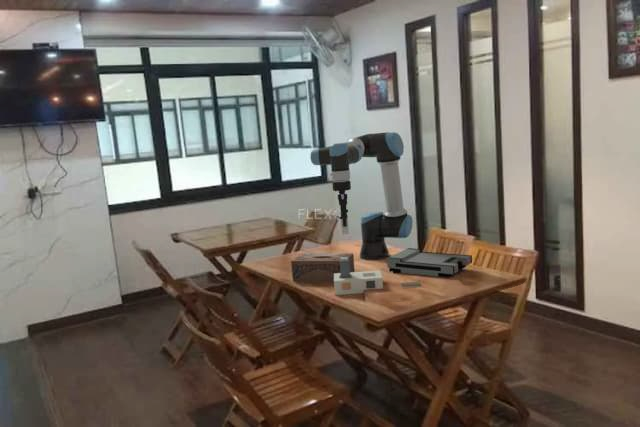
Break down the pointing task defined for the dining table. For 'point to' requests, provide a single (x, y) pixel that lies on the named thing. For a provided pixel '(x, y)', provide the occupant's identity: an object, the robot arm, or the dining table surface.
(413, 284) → the plate
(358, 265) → the dining table surface
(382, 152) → the robot arm
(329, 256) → the tissue box cover
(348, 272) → the plug
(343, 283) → the socket block
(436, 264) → the office tray
